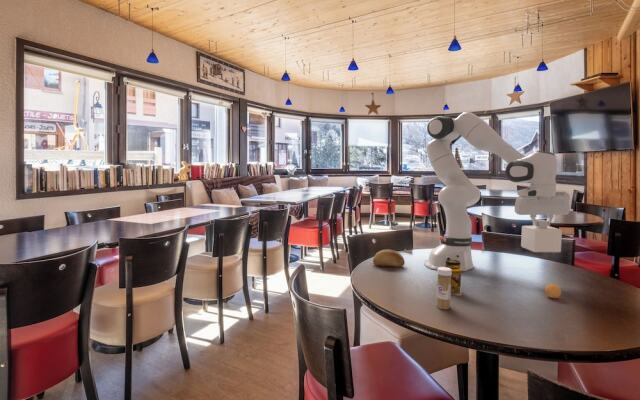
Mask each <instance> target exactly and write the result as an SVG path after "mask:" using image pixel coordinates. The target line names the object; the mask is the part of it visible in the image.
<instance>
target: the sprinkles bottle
mask: <svg viewBox="0 0 640 400" xmlns="http://www.w3.org/2000/svg"><path fill="white" fill-rule="evenodd" d="M436 272H437V273H436V274H437V288H436V308H438V309H441V310H449V309H450V308H451V296H452V295H451V275H452V269H450V268H447V267H439V268H438V270H436Z"/></svg>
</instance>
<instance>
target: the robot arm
mask: <svg viewBox="0 0 640 400" xmlns="http://www.w3.org/2000/svg"><path fill="white" fill-rule="evenodd" d="M426 130H427V133H428V135H429V136H430V137H431V138H433V139H431V141H429V142H428V143H427V144H426V147H425V148H426V153H427V157H428V160H429V162H430V164H431V167H432V169H433V170H434V171H433V172H434V173H435V175H436V177H437V179H438V180H439V181H440V182H442V183H443V184H444V187H443V188H441V189H440V191H439V192H438V196H437V199H438V203H440V205H441V206H442V207H443V211H444V214H445V222H446V223H445V225H446V226H445V227H446V228H445V229H446V230H445V233H446V234H445V235H444V236H443V235H440V236H439V237H438V240H440V241H441V244H439V245H437V246H436V247H435V248H433V249H432V250H431V251H430V252H429V255H428V259H425V260H424V261H423V264H424V266H425V267H426V268H427V269H431V270H436V271H437V270H438V268H439V267H445V264H446V260H458V261H460V268H461V272H468V271H469V270H471V269H474V267H475V266H474V262H473V258H472V257H473V256H472V247H473V238H472V223H473V222H472V219H471V218H470V217H469V214H468V209H467V208H468V207H472V206H473V205H475V204H477V203H478V202H479V200H480V198H481V190H480V188H479V187H477V186H476V185H475V184H474V183H473V182H472V181H471V180H470V179H469V177H468V176H467V175H466V174H465V172H464V171H462V168H461V167H460V165H459V163H458V161H457V160H456V157H455V155H454V152H453V151H452V149H451V146H453V145H454V144H455V143H456V142H458V140H460V139H461V138H464V140H465V141H466V142H467V143H469V144H470V145H471V147H474V148H475V149H478V150H479V151H483V152H488V153H491V154H495V155H497V156H498V157H500V158H501V159H502V160H503V161H504V162H505V163H507V165H506V167H505V177H506V178H507V179H508V180H509V181H510V182H513V183H517V184H521V183H522V184H523V183H526V184H530V186H528V187H526V188H523V189H519V190H517V198H516V199H515V203H514V212H515V214H516V215H518V216H519V215H520V216H526V215H527V216H529V217H530V219H531V221H532V226H539V222H538V221H536V220H537V219H536V218H537V216H546V217H547V218H546V221H548V222H547V226H549V227H551V221H553V219H554V215H555V216H557V215H559V216H560V215H561V216H562V215H563V216H564V215H567V216H568V215H569V214H570V211H571V207H570V194H569V193H568V192H567V191H557V181H556V177H557V175H558V162H557V156H556V154H555V153H553V152H550V151H543V150H535V151H533V152H532V153H531V154H528V155H527V156H525V155H523V154H522V153H520V151H518V150H517V149H515V148H514V147H513V146H512V145H511V144H509V143H508V142H507V141H506V140H504V139H503V138H502V136H500V135H499V134H498V133H497V131H496V130H494V129H493V128H492V126H491V125H490V124H488V123H487V122H486V121H485V119H483V118H481V117H479V116H477V115H476V114H475V113H473V112H471V111H464V112H462V113H460V114H459V115H458V116H457V117H456V118H453V117H451V116H450V117H449V116H442V115H439V116H438V115H437V116H435V117H433V118H431V119H430V120H429V121H428V123H427V127H426Z"/></svg>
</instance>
